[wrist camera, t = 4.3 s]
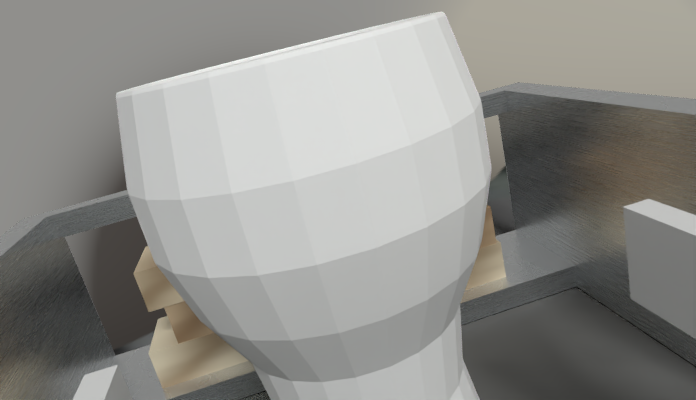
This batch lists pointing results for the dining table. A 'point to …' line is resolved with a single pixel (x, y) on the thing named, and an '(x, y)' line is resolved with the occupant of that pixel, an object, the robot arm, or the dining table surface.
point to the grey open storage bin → (478, 302)
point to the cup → (321, 207)
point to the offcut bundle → (212, 351)
